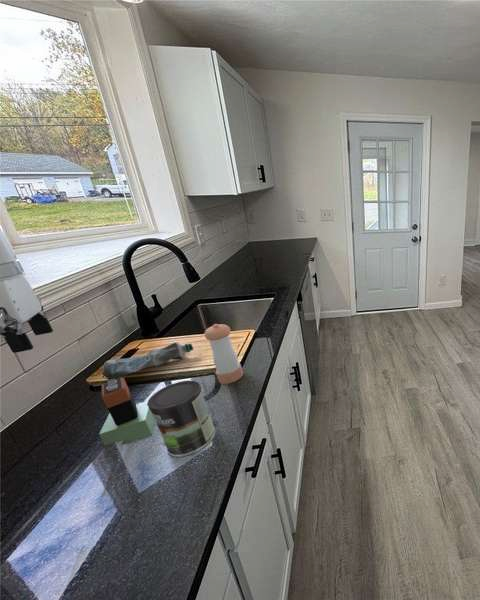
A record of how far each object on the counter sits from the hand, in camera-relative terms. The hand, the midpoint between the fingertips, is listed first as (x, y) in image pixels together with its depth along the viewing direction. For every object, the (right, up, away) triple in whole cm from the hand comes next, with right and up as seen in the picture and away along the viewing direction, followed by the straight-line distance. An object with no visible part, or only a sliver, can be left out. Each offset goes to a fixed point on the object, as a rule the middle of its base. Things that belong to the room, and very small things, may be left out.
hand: (34, 341), depth 74 cm
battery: (+17, -20, +6) cm, 27 cm away
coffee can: (+35, -25, +4) cm, 43 cm away
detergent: (0, -14, +36) cm, 39 cm away
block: (+17, -24, +8) cm, 31 cm away
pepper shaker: (+31, -16, +28) cm, 45 cm away
